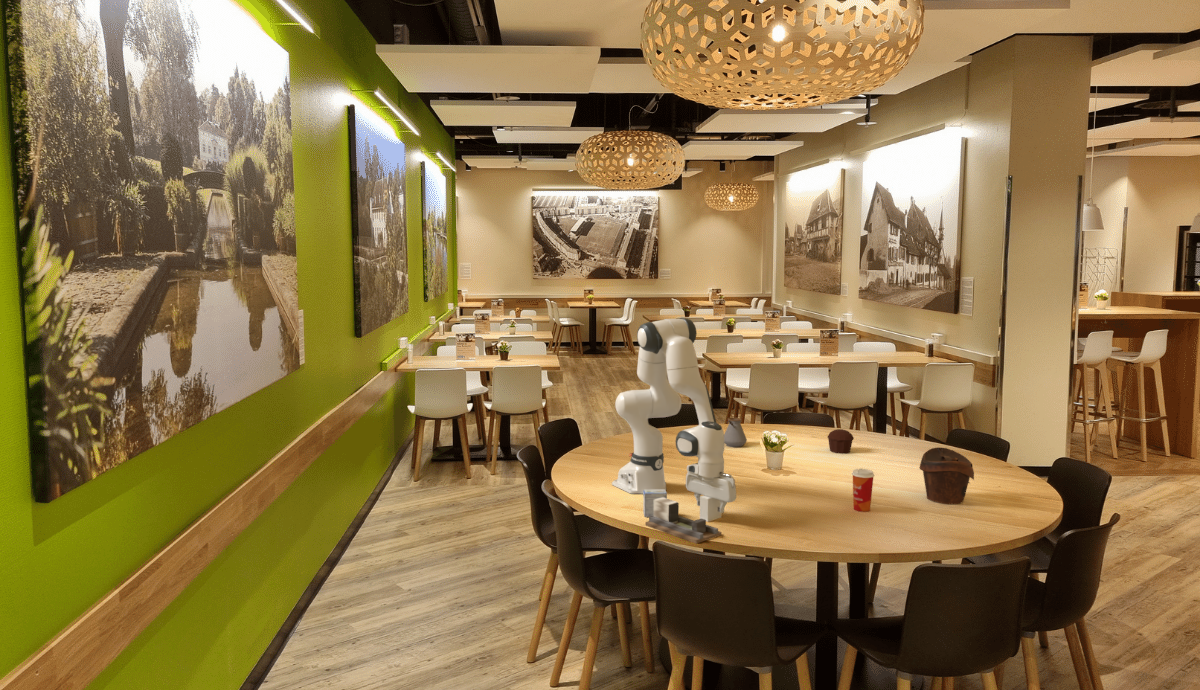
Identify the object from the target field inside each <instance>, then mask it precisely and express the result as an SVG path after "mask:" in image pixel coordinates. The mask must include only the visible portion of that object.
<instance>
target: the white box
mask: <svg viewBox="0 0 1200 690" xmlns="http://www.w3.org/2000/svg"><path fill="white" fill-rule="evenodd" d="M720 505H721V503H720V500H718V499H715V498H711V497H708V496H704V495H700V506H699V519H701V518H702V519H705V520H706V523H708V522H711V521H714V520H719V519H720V518H722V513H720V512H718V507H720Z"/></svg>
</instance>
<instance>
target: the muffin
mask: <svg viewBox="0 0 1200 690" xmlns="http://www.w3.org/2000/svg"><path fill="white" fill-rule="evenodd" d="M827 439H828V446H829V448H828V449H829V452H831V453H833V454H841V455H843V454H850V453H851V450H852V445H853V440H854V435H853V434H852V433H851V432H849V431H848V430H847V429H844V428H843V429H842V428H840V429H839V428H838V429H837V428H836V429H834V430H831V431H830V432H829V433H828V435H827Z"/></svg>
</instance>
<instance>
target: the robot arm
mask: <svg viewBox="0 0 1200 690" xmlns="http://www.w3.org/2000/svg"><path fill="white" fill-rule="evenodd" d="M636 338H637V343H638V345H639V347H638V355H637V356H638V358H637V367H636V374H637V377H638V379H639V380H640V381H641V382H643V383H644V384H646V385H648V386H649V388H647V389H630V390H626V391H622V392H620V393H618V395H617V397H616V398H615V403H614V407H615V410H616V413H617V414H618V415H619V417H620V418H622V419H623V420H624V421H626V422H627V424H628V425H629V427H630V429H631V432H632V436H633V437H632V438H633V439H632V440H633V452H630V453H629V455H628V457H631V458H630V461H629V462H627V463H626V464H625V465H623V466H622V467H621V468H619V470H618V473H617V479H615V480H612V482H611V485H612V486H614V487H616V488H618V489H621V490H622V491H624V492H626V493H629V494H632V495H633V494H641V495H643V494H644V490H651V489H665V490H667V482H666V479H665V478H666V477H665V470H664V461H665V460H664V459H665V456H664V453H663V447H664V446H663V439H664V438H663V437H664V435H663V433H662V432H661V430H659V429H658V428H656V427H654V426H652V425H651V424H650V423H649V419H652V418H653V419H654V418H656V419H657V418H666V417H667V418H668V417H672V416H675V415H676V416H677V414H678V413H680V410H681V408H682V398H681V396H680V395H683V396H685V397H688V398H689V399H690V400H691V401H692V402H693V404H694V408H695V412H696V415H697V419H698V420H697V421H698V425H696V426H693V427H689V428H686V429H683V430H679V431H678V433H677V434H676V437H675V447H676V450H677V452H678V453H679V454H681V456H684V457H688V458H689V457H697V462H695V463H692V464H687V465H686V472H687V473H686V476H685V488H686V490H687V491H689V492H692V493H694V494H693V495H694V498H695V500H696V506H698V507H700V496H708V497H711V498H715V499H718V500H720V503H721V505H720V507H718V512H720V513H721V514H723V513H724V512H725V507H726V505H727V503H733V502H735V500H736V499H737V490H736V489H737V488H736V487H737V486H736V479H735V477H733V475H732V474H730V473H725V458H724V453H725V452H724V451H725V443H724V434H725V432H724V429H723V426H722V425H721V424H719V423H718V422H717V419H716V416H715V413H714V412H715V411H714V409H713V408H714V407H713V404H712V399H711V396H710V392H709V390H708V387H707V385H706V383H705V382H704V380H703V379H702V376H701V374H700V369H699V363H698V358H697V353H696V350H695V345H694V343H695V341H696V338H697V328H696V325H695V323H694V322H693V321H692V319H689V318H684V317H680V318H665V319H661V320H655V321H652V322H651V321H648V322H645V323H642V324H640V325H639V327H638V329H637V332H636Z"/></svg>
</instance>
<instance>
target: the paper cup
mask: <svg viewBox="0 0 1200 690" xmlns="http://www.w3.org/2000/svg"><path fill="white" fill-rule="evenodd" d="M851 475H852V501H853V502H852V503H853V510H854V511H857V512H861V513H862V512H863V513H865V512H871V505H872V497H873V496H872V495H873V485H874V477H875V474H874V471H873V470H871V469H868V468H854V469H853V470H852V472H851Z"/></svg>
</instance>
